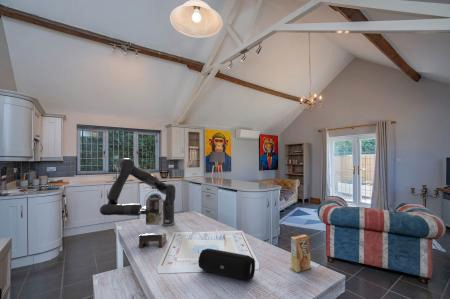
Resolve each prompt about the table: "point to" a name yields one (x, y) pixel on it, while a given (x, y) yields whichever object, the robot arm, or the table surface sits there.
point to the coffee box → (156, 217)
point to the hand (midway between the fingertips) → (157, 209)
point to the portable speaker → (227, 263)
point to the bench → (152, 239)
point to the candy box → (300, 253)
